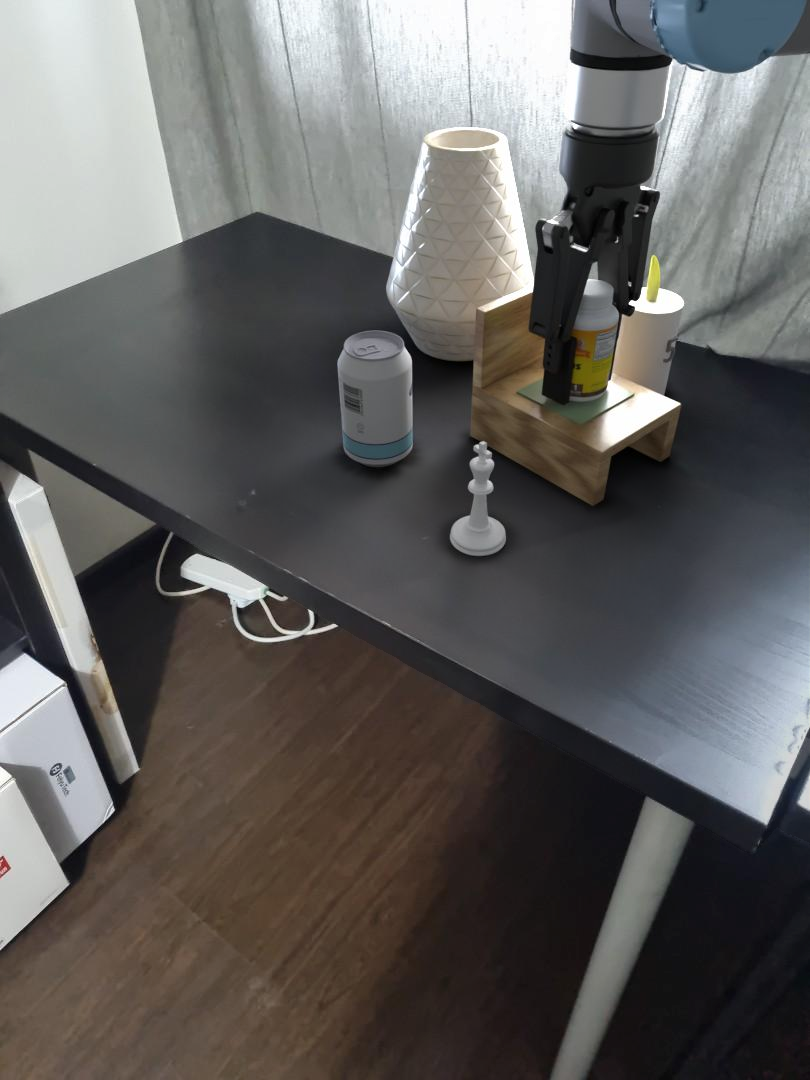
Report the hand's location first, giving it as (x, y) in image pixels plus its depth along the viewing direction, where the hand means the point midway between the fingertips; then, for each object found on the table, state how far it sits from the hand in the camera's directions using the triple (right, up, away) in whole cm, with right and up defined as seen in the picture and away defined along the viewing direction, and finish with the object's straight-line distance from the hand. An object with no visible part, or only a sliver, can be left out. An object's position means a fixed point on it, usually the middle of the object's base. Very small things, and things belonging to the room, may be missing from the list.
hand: (576, 386), depth 79 cm
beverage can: (-19, -6, +4) cm, 20 cm away
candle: (+9, +2, +13) cm, 16 cm away
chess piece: (-10, -15, -6) cm, 19 cm away
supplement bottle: (0, 0, 0) cm, 0 cm away
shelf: (0, -5, +5) cm, 7 cm away
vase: (-10, +10, +22) cm, 26 cm away
